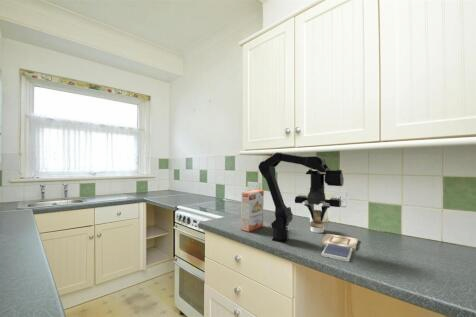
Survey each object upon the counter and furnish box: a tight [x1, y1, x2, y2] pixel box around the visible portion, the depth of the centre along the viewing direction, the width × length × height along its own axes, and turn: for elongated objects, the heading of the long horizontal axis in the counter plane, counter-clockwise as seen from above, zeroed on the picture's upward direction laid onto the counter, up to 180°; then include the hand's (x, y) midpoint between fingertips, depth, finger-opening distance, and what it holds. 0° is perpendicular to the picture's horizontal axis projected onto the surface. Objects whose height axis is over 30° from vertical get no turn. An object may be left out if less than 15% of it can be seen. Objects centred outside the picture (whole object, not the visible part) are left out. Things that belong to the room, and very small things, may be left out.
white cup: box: [309, 213, 326, 234], centre depth 125 cm, size 8×8×10 cm
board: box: [320, 233, 359, 251], centre depth 108 cm, size 14×14×1 cm
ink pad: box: [321, 244, 353, 262], centre depth 95 cm, size 10×12×2 cm
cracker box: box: [240, 189, 265, 233], centre depth 130 cm, size 14×6×21 cm, turn 140°
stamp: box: [309, 209, 326, 228], centre depth 101 cm, size 5×5×7 cm
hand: (317, 220), depth 101 cm, fingers closed on stamp, 3 cm apart
